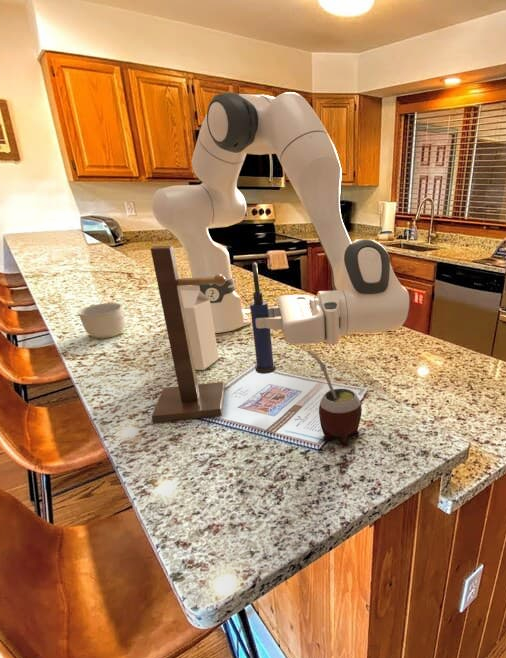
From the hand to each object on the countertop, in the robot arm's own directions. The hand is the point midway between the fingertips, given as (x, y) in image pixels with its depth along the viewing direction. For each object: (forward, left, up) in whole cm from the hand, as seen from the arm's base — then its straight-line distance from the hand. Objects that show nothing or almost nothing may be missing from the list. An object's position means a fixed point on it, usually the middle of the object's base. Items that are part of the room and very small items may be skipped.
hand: (255, 319), depth 80 cm
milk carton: (-21, -15, -17) cm, 31 cm away
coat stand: (0, -12, -16) cm, 20 cm away
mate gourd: (+18, +12, -16) cm, 27 cm away
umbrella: (0, +1, -10) cm, 11 cm away
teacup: (-51, -44, -16) cm, 69 cm away
